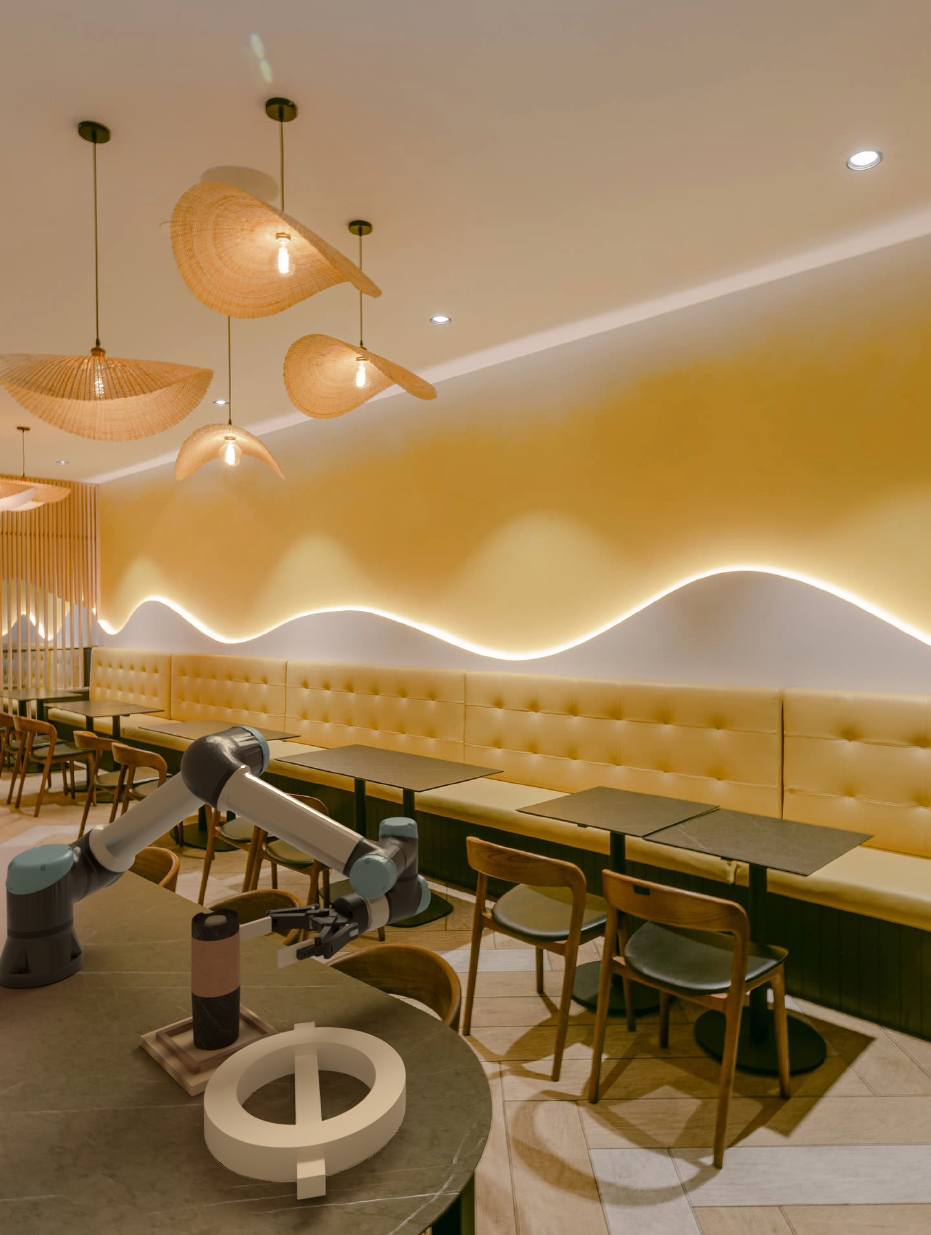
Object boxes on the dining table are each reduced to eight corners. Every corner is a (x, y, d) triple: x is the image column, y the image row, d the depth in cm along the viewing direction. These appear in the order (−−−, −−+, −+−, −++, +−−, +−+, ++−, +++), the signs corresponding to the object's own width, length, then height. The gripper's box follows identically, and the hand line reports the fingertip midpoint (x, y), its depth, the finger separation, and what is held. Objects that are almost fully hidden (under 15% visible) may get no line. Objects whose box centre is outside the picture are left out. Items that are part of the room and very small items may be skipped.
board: (140, 1045, 127) (140, 1029, 127) (235, 1008, 139) (235, 994, 139) (192, 1096, 114) (192, 1079, 114) (292, 1050, 126) (292, 1035, 126)
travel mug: (226, 1054, 122) (225, 927, 122) (182, 1049, 124) (181, 924, 123) (249, 1028, 130) (248, 909, 129) (207, 1023, 131) (206, 906, 131)
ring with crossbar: (312, 1218, 91) (311, 1178, 91) (160, 1134, 106) (160, 1099, 106) (443, 1093, 115) (443, 1061, 115) (304, 1038, 130) (304, 1010, 130)
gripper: (400, 953, 137) (295, 995, 122) (321, 914, 155) (222, 946, 140) (400, 911, 137) (295, 947, 122) (321, 876, 155) (221, 904, 140)
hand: (256, 946), depth 131 cm, fingers open, 13 cm apart
